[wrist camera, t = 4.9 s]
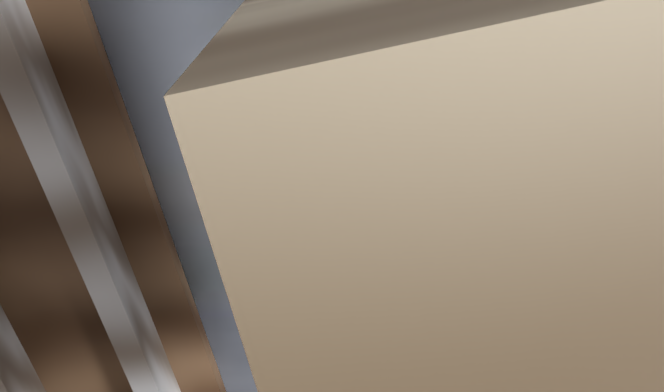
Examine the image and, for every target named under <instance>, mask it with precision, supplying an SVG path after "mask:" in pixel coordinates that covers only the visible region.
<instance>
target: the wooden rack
mask: <svg viewBox="0 0 664 392" xmlns="http://www.w3.org/2000/svg"><path fill="white" fill-rule="evenodd" d="M0 392H226V390H225V387H224V384H223V381H222V378H221V375H220V373H219V370H218V367H217V364H216V361H215V359H214V356H213V353H212V350H211V347H210V344H209V342H208V339H207V336H206V333H205V330H204V328H203V325H202V322H201V319H200V316H199V313H198V311H197V308H196V305H195V302H194V299H193V297H192V294H191V291H190V288H189V285H188V282H187V280H186V277H185V274H184V271H183V268H182V266H181V263H180V260H179V257H178V254H177V251H176V249H175V246H174V243H173V240H172V237H171V234H170V232H169V229H168V226H167V223H166V220H165V218H164V215H163V212H162V209H161V206H160V203H159V201H158V198H157V195H156V192H155V189H154V187H153V184H152V181H151V178H150V175H149V172H148V170H147V167H146V164H145V161H144V158H143V156H142V153H141V150H140V147H139V144H138V141H137V139H136V136H135V133H134V130H133V127H132V125H131V122H130V119H129V116H128V113H127V110H126V108H125V105H124V102H123V99H122V96H121V94H120V91H119V88H118V85H117V82H116V79H115V77H114V74H113V71H112V68H111V65H110V63H109V60H108V57H107V54H106V51H105V48H104V46H103V43H102V40H101V37H100V34H99V32H98V29H97V26H96V23H95V20H94V17H93V15H92V12H91V9H90V6H89V3H88V1H87V0H0Z"/></svg>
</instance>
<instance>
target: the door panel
mask: <svg viewBox="0 0 664 392" xmlns="http://www.w3.org/2000/svg"><path fill="white" fill-rule="evenodd" d="M164 99H165V102H166V105H167V109H168V112H169V115H170V118H171V121H172V124H173V127H174V131H175V134H176V137H177V140H178V143H179V146H180V149H181V152H182V156H183V159H184V162H185V165H186V168H187V171H188V174H189V177H190V181H191V184H192V187H193V190H194V193H195V196H196V199H197V202H198V206H199V209H200V212H201V215H202V218H203V221H204V224H205V228H206V231H207V234H208V237H209V240H210V243H211V246H212V249H213V253H214V256H215V259H216V262H217V265H218V268H219V271H220V274H221V278H222V281H223V284H224V287H225V290H226V293H227V296H228V299H229V303H230V306H231V309H232V312H233V315H234V318H235V321H236V325H237V328H238V331H239V334H240V337H241V340H242V343H243V346H244V350H245V353H246V356H247V359H248V362H249V365H250V368H251V371H252V375H253V378H254V381H255V384H256V387H257V390H258V392H664V0H245V1H244V2H243V3H242V4H241V5H240V7H239V8H238V9H237V10H236V11H235V12H234V14H233V15H232V16H231V17H230V18H229V20H228V21H227V22H226V23H225V24H224V25H223V27H222V28H221V29H220V30H219V31H218V33H217V34H216V35H215V36H214V37H213V38H212V40H211V41H210V42H209V43H208V44H207V46H206V47H205V48H204V49H203V50H202V51H201V53H200V54H199V55H198V56H197V57H196V59H195V60H194V61H193V62H192V63H191V64H190V66H189V67H188V68H187V69H186V70H185V72H184V73H183V74H182V75H181V76H180V77H179V79H178V80H177V81H176V82H175V83H174V85H173V86H172V87H171V88H170V89H169V90H168V92H167V93H166V94H165V95H164Z"/></svg>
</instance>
